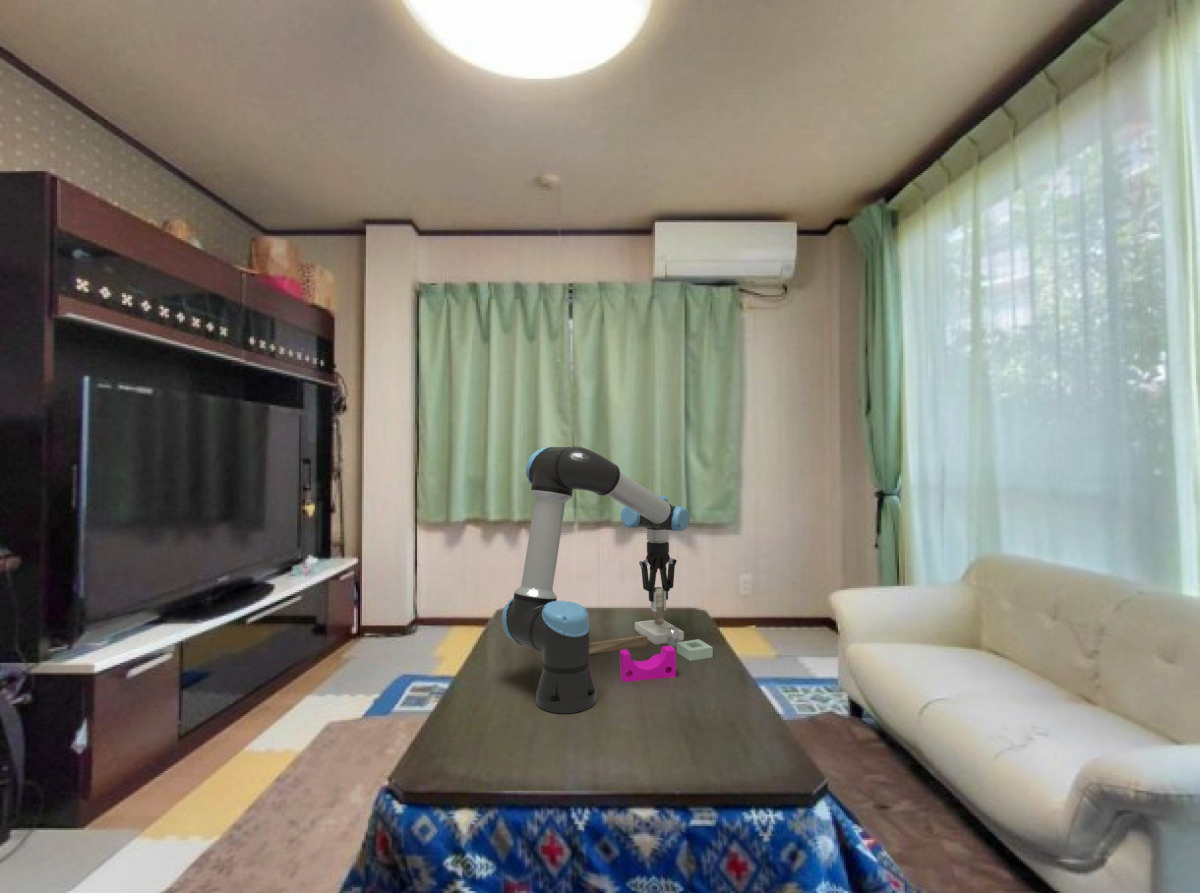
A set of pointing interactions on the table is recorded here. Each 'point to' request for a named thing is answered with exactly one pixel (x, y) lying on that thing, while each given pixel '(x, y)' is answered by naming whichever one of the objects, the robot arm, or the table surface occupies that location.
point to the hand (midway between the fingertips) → (658, 610)
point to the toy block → (648, 666)
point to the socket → (694, 650)
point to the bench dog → (672, 636)
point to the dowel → (659, 606)
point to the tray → (655, 631)
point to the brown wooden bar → (617, 644)
